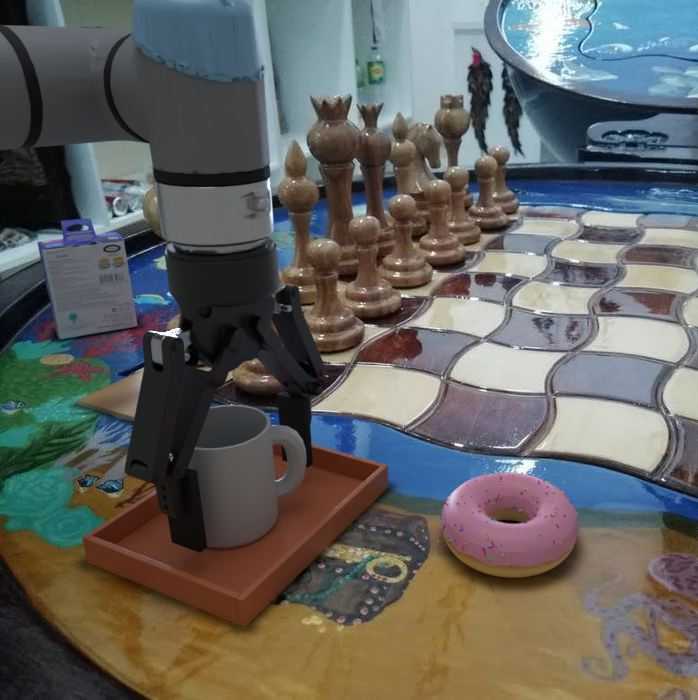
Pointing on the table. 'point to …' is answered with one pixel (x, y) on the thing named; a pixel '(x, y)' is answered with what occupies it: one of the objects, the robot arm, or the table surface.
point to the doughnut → (509, 539)
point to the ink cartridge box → (87, 281)
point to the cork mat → (116, 398)
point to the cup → (243, 473)
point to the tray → (246, 561)
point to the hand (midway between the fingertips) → (248, 500)
